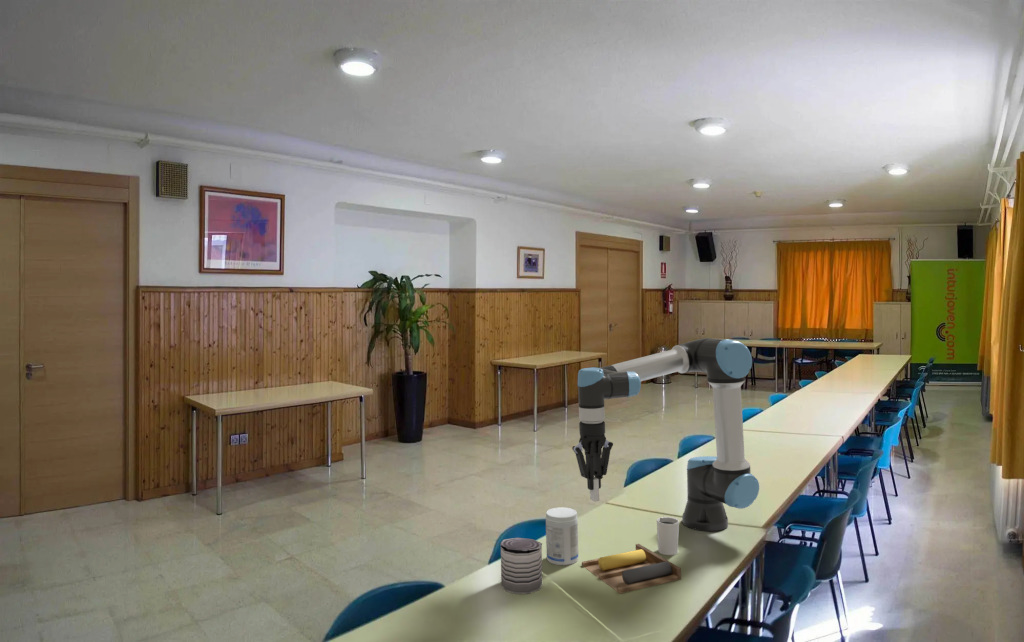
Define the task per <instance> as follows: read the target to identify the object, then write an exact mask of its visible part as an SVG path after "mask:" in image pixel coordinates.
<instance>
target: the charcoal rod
mask: <svg viewBox="0 0 1024 642" xmlns="http://www.w3.org/2000/svg"><path fill="white" fill-rule="evenodd" d="M667 561H668V560H667ZM667 561H666V562H661V563H657V564H652V565H648V566H643V567H638V568H634V569H629V570H625V571H623V573H622V578H623V581H624V582H625V584H632V583H636V582H641V581H645V580H649V579H654V578H658V577H663V576H667V575H670V574H671V573H672V568H671V565H670V564H669V562H670V561H669V562H667Z"/></svg>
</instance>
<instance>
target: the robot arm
mask: <svg viewBox="0 0 1024 642" xmlns="http://www.w3.org/2000/svg"><path fill="white" fill-rule="evenodd" d="M752 366H753V357H752V355H751V352H750V349H749V348H748V347H747V345H745V344H744V343H743V342H740V341H738V340H734V339H731V338H730V339H729V338H727V339H726V338H711V337H706V338H699V339H694V340H691V341H687V342H684V343H680V344H676V345H674V346H673V347H672V348H671V349H669V350H664V351H661V352H657V353H652V354H650V355H646V356H641V357H638V358H633V359H629V360H626V361H621V362H618V363H614V364H610V365H606V366H605V365H604V366H601V367H597V366H596V367H595V366H594V367H585V368H581V369H579V370H578V373H577V391H578V392H577V393H578V394H577V396H578V397H577V398H578V417H579V418H578V419H579V423H578V426H579V427H578V428H579V435H580V438H579V440H578V443H577V444H576V445H574V446H572V447H571V449H572V451H573V452H574V454H575V457H576V460H577V465H578V469H579V474H580V476H581V477H582V478H584V479H586V481H587V489H588V490H589V499H590V500H591V501H593V502H600V489H601V487H602V479H603V478H604V477H603V476H606V475H607V473H608V467H609V462H610V455H611V450H612V448H613V446H614V443H613V442H612V441H609V440H608V439H607V437H606V435H605V433H606V423H605V421H604V420H606V415H605V414H606V412H605V400H612V399H621V398H630V397H636V396H637V395H639V393H640V391H641V388H642V387H641V385H642V382H643V381H648V380H651V379H654V378H659V377H661V376H662V377H663V376H666V375H669V374H672V373H677V372H678V373H679V374H685V373H691V372H692V373H694V372H696V373H697V372H698V373H705V374H706V377H707V379H706V381H707V383H708V384H709V385H710V386H711V388H712V397H713V398H712V399H713V413H714V415H713V416H714V430H715V445H716V446H715V447H716V450H715V451H716V456H714V455H713V456H712V455H711V456H710V455H708V456H705V455H703V456H694V457H691V458H689V459H688V460H687V465H686V481H687V482H686V483H687V484H686V485H687V486H686V487H687V498H686V499H687V501H686V503H685V507H684V511H683V513H682V517H681V518H682V519H681V520H682V521H681V522H682V524H683V525H684V526H685V527H687V528H690V529H692V530H696V531H705V532H716V531H717V532H718V531H721V530H725V529H727V528H728V527H729V518H728V516H727V512H726V509H725V505H727V506H728V507H731V508H735V509H738V510H739V509H740V510H741V509H746V508H748V507H750V506H751V505H753V503H754V502H755V501H756V499H757V498H758V495H759V492H760V482H759V480H758V479H757V478H756V476H755V475H753V474H752V473H751V463H750V462H748V460H746V457H745V441H744V440H745V439H744V421H743V406H742V390H741V389H742V388H741V386H742V385H744V383H745V382H746V376H747V375H748V374H749V373H750V370H751V369H752ZM583 452H584V453H583ZM584 455H585V457H584ZM724 504H725V505H724Z"/></svg>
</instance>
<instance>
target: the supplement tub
mask: <svg viewBox="0 0 1024 642" xmlns="http://www.w3.org/2000/svg"><path fill="white" fill-rule="evenodd" d="M578 525H579V524H578V512H577V510H576V509H573V508H570V507H562V506H561V507H559V506H558V507H553V508H549V509H548V510H547V511H546V512H545V538H546V539H545V541H546V545H545V547H546V559H547V561H548V562H549V563H551V564H553V565H557V566H570V565H573V564H575V563H577V562H578V561H579V531H578V529H579V528H578Z"/></svg>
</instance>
